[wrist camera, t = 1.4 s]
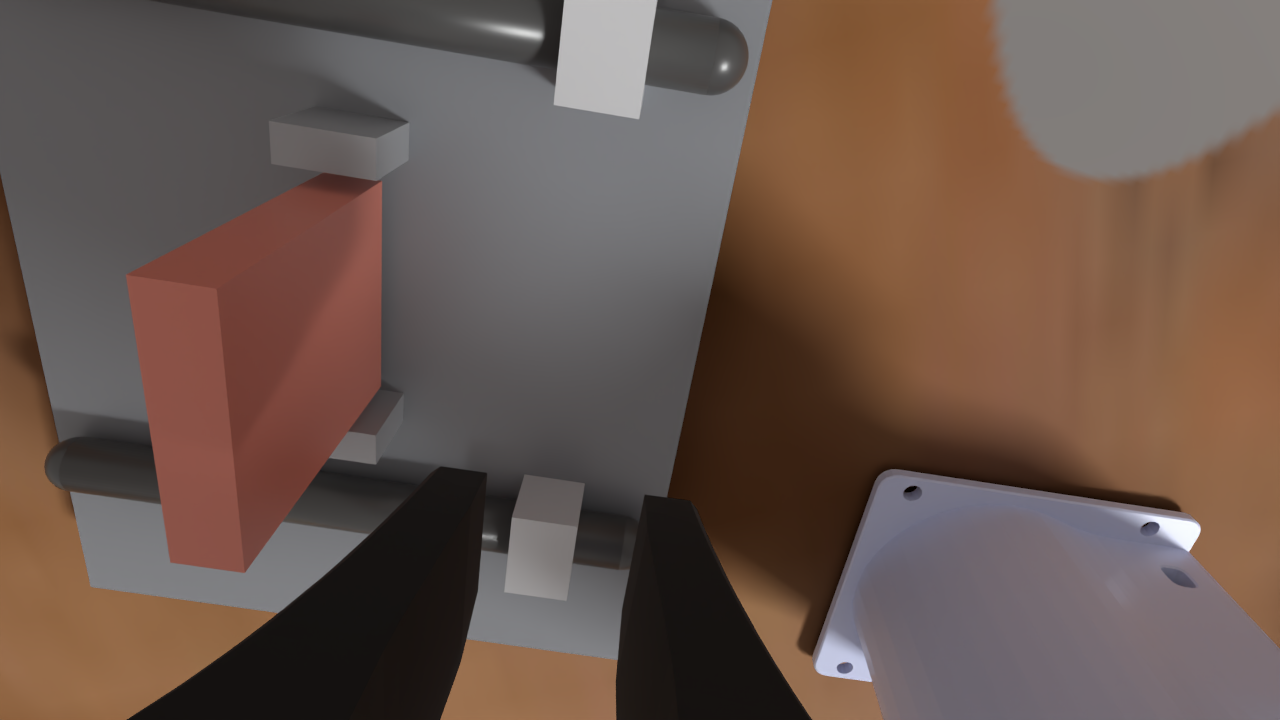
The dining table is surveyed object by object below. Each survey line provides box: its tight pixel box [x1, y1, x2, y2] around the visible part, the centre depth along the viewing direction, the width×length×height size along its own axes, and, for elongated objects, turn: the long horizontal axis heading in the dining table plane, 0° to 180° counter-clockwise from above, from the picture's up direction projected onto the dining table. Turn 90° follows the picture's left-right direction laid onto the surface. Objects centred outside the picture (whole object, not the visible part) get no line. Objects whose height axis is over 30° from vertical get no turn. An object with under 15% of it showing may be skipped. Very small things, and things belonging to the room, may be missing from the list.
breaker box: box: [0, 0, 772, 660], centre depth 17 cm, size 16×22×4 cm
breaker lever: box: [126, 172, 382, 573], centre depth 14 cm, size 1×5×6 cm, turn 171°
